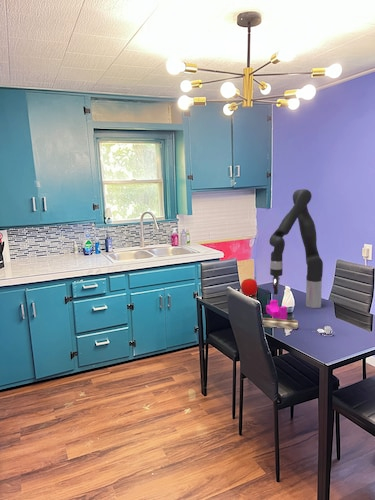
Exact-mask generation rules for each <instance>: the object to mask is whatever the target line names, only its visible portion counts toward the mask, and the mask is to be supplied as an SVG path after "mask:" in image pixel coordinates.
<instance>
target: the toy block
mask: <svg viewBox="0 0 375 500" xmlns="http://www.w3.org/2000/svg"><path fill="white" fill-rule="evenodd" d="M265 312H266V313H267V314H268V315H269V314H270V315H269V316H271V317H272V318H273V319H276V318H277V319H284V320H288V307H287V306H286V305H284V306H279V302H278V300H276V299H270V300H269V304H266V305H265Z"/></svg>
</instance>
